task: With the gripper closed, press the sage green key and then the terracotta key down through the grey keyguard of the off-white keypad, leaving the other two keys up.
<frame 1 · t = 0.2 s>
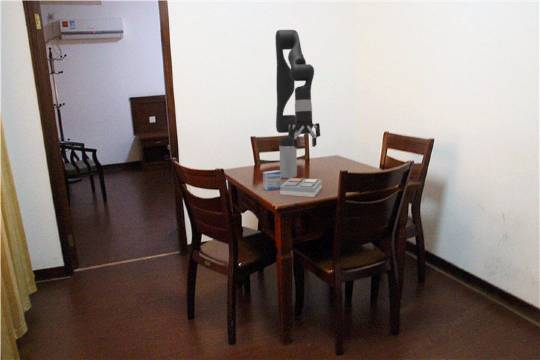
hand: (304, 147, 180), 22 cm above the table, tool pointing down, fingers open, 8 cm apart
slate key: (291, 185, 188), point 4 cm above the table, slide at 0.0 cm
cream key: (311, 182, 192), point 4 cm above the table, slide at 0.0 cm
medicine box: (272, 189, 197), on the table
keypad: (301, 191, 191), on the table
sage key: (307, 186, 186), point 4 cm above the table, slide at 0.0 cm
terracotta key: (296, 181, 195), point 4 cm above the table, slide at 0.0 cm
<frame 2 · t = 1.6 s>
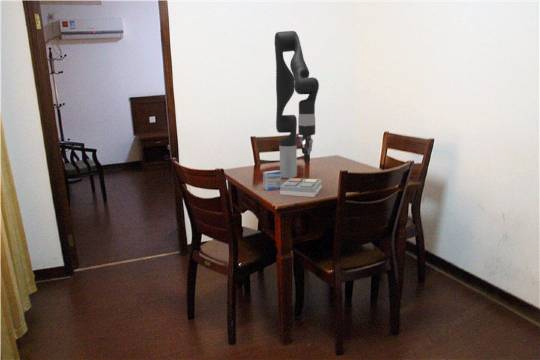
hand: (307, 162, 183), 15 cm above the table, tool pointing down, fingers closed
nothing on the table moved.
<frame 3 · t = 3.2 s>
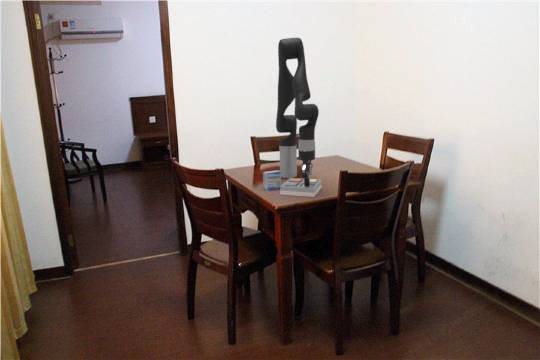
hand: (307, 186, 186), 4 cm above the table, tool pointing down, fingers closed
sage key: (307, 187, 186), point 3 cm above the table, slide at 0.8 cm, touching gripper
everything else where it was.
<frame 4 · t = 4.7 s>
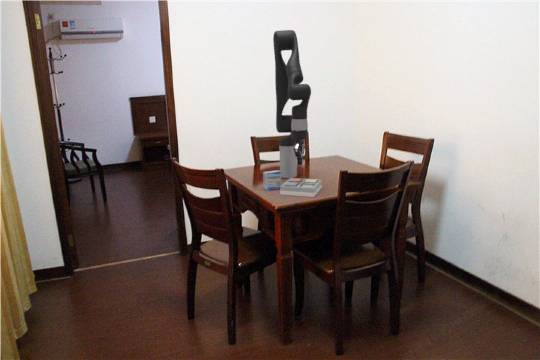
hand: (299, 164, 191), 12 cm above the table, tool pointing down, fingers closed
sage key: (307, 187, 186), point 3 cm above the table, slide at 0.8 cm
everything else where it was.
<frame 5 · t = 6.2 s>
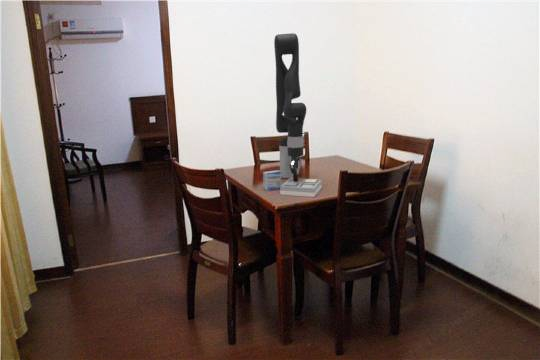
hand: (295, 181, 195), 4 cm above the table, tool pointing down, fingers closed
terracotta key: (296, 182, 195), point 3 cm above the table, slide at 0.7 cm, touching gripper
everything else where it was.
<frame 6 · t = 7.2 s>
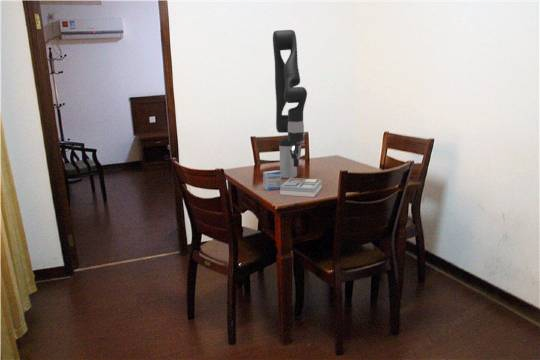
hand: (296, 166, 193), 11 cm above the table, tool pointing down, fingers closed
terracotta key: (296, 182, 195), point 3 cm above the table, slide at 0.8 cm, touching keypad
everything else where it was.
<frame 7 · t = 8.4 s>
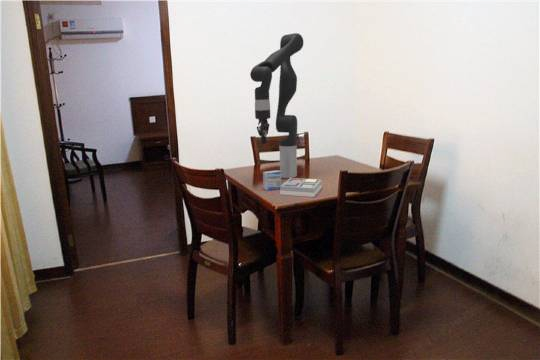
hand: (263, 143, 202), 21 cm above the table, tool pointing down, fingers closed
nothing on the table moved.
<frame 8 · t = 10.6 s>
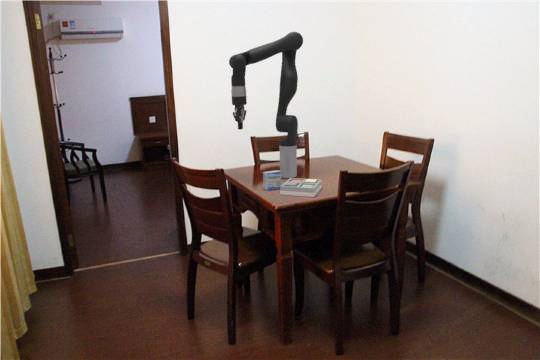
hand: (240, 129, 210), 27 cm above the table, tool pointing down, fingers closed
nothing on the table moved.
at the end: sage key slide at 0.8 cm; terracotta key slide at 0.8 cm; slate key slide at 0.0 cm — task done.
